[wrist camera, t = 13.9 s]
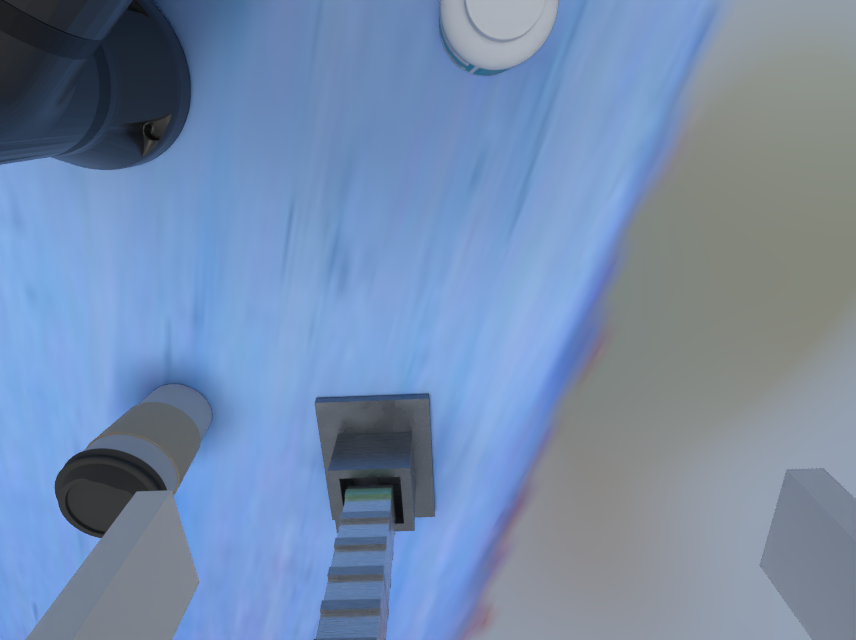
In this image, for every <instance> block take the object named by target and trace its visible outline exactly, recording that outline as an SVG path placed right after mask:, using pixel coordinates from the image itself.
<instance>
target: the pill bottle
mask: <svg viewBox="0 0 856 640" xmlns="http://www.w3.org/2000/svg"><path fill="white" fill-rule="evenodd" d="M558 3H559V0H440V17H439V28H440V36H441V41H442V44H443V47H444V49H445V51H446V53H447V55H448V56H449V58H450V59H451V60H452V61H453V62H454V64H455V65H457V66H458V67H459V68H460V69H462V70H464V71H465V72H468V73H470V74H473V75H478V76H491V75H495V74H498V73H501V72H503V71H506V70H508V69H510V68H512V67H514V66H516V65H518V64H520V63H522V62H524V61H526V60H527V59H528V58H530V57H531V56H532V55H534V54H535V53H536V52H537V51H538V50H539V48H540V47H541V46H542V45H543V44H544V42H545V41H546V39H547V37H548V36H549V34H550V32H551V30H552V28H553V25H554V22H555V19H556V16H557V11H558Z"/></svg>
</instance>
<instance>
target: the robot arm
mask: <svg viewBox="0 0 856 640" xmlns="http://www.w3.org/2000/svg"><path fill="white" fill-rule="evenodd" d="M189 102H190V80H189V72H188V67H187V63H186V59H185V56H184V53H183V50H182V47H181V45H180V43H179V40H178V38H177V36H176V34H175V32H174V30H173V29H172V27H171V25H170V24H169V22H168V21H167V19H166V18H165V16H164V15H163V14H162V13H161V11H160V10H159V9H158V8H157V6H156V5H155V4H154V3H153V2H152V1H151V0H0V165H2V164H8V163H14V162H21V161H27V160H34V159H40V158H47V157H51V158H55V159H58V160H61V161H64V162H67V163H70V164H73V165H77V166H80V167H85V168H90V169H98V170H115V169H122V168H127V167H132V166H136V165H140V164H143V163H146V162H148V161H151V160H153V159H154V158H156V157H158V156H159V155H161V154H162V153H163V152H164V151H166V150H167V149H168V148H169V147H170V146H171V145H172V143H173V142H174V141H175V140H176V138H177V137H178V135H179V133H180V132H181V130H182V127H183V125H184V123H185V120H186V117H187V113H188V108H189ZM760 567H761V568H762V569H763V571H764V572H765V574H766V575H767V577H768V578H769V579H770V581H771V582H772V583H773V585H774V586H775V588H776V589H777V590H778V592H779V593H780V595H781V596H782V598H783V599H784V601H785V602H786V603H787V605H788V606H789V607H790V609H791V610H792V612H793V613H794V615H795V616H796V617H797V619H798V620H799V622H800V623H801V624H802V626H803V627H804V629H805V630H806V632H807V633H808V634H809V636H810V637H811V639H812V640H856V498H855V497H853V496H852V495H851V494H850V493H849V492H848V491H847V490H846V489H845V488H844V487H843V486H842V485H841V484H840V483H839V482H837V481H836V480H835V479H834V478H833V477H832V476H831V475H830V474H829V473H828V472H827V471H826V470H825V469H823V468H819V469H791V470H786V473H785V477H784V481H783V484H782V488H781V491H780V495H779V498H778V502H777V505H776V509H775V513H774V516H773V519H772V523H771V527H770V530H769V534H768V537H767V541H766V544H765V548H764V551H763V555H762V558H761V562H760ZM198 584H199V579H198V576H197V572H196V569H195V566H194V562H193V559H192V556H191V553H190V549H189V546H188V543H187V539H186V536H185V533H184V530H183V526H182V523H181V520H180V516H179V513H178V510H177V507H176V503H175V500H174V497H173V493H172V490H167V491H137V492H136V493H135V494H134V496H133V497H132V498H131V500H130V501H129V502H128V504H127V505H126V506H125V508H124V509H123V510H122V512H121V513H120V514H119V516H118V517H117V518H116V520H115V521H114V522H113V524H112V525H111V526H110V528H109V529H108V530H107V532H106V533H105V534H104V536H103V537H102V538H101V540H100V541H99V542H98V544H97V545H96V546H95V548H94V549H93V550H92V552H91V553H90V554H89V556H88V557H87V558H86V560H85V561H84V562H83V564H82V565H81V566H80V568H79V569H78V570H77V572H76V573H75V574H74V576H73V577H72V578H71V580H70V581H69V582H68V584H67V585H66V586H65V588H64V589H63V590H62V592H61V593H60V594H59V596H58V597H57V598H56V600H55V601H54V602H53V604H52V605H51V607H50V608H49V609H48V611H47V612H46V613H45V615H44V616H43V617H42V619H41V620H40V621H39V623H38V624H37V625H36V627H35V628H34V629H33V631H32V632H31V633H30V635H29V636H28V637H27V639H26V640H172V639H173V636H174V634H175V632H176V630H177V628H178V626H179V624H180V622H181V620H182V618H183V616H184V613H185V611H186V609H187V607H188V605H189V603H190V601H191V599H192V597H193V595H194V592H195V590H196V588H197V586H198Z"/></svg>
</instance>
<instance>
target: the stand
mask: <svg viewBox="0 0 856 640" xmlns="http://www.w3.org/2000/svg"><path fill="white" fill-rule="evenodd" d="M315 409H316V415H317V422H318V428H319V435H320V442H321V448H322V455H323V461H324V468H325V474H326V481H327V487H328V494H329V500H330V507H331V513H332V520H335V522H336V529H337V533H338V530H339V526H340V515H341V512H343V507H344V502H345V492H346V489H347V488H348V486H366V485H393V495H394V506H395V517H396V521H395V531H414V529H415V517H435V505H434V486H433V466H432V447H431V427H430V408H429V394H410V395H384V396H357V397H330V398H316V401H315Z"/></svg>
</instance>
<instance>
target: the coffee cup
mask: <svg viewBox="0 0 856 640" xmlns="http://www.w3.org/2000/svg"><path fill="white" fill-rule="evenodd" d="M211 421H212V410H211V407H210V405H209V403H208V402H207V400H206V399H205V398H204V397H203V396H202V395H201V394H200V393H199V392H197V391H196V390H194V389H192V388H190V387H188V386H185V385H180V384H167V385H163V386H160V387H158V388H157V389H155V390H154V391H153V392H152V393H151V394H149V395H148V396H147V397H146V398H145V399H144V400H142V401H141V402H140V403H139V404H138V405H136V406H134V407H132V408H131V409H130V410H129V411H127V412H126V413H125V414H124V415H123V416H122V417H120V418H119V419H118V420H117V421H116V422H114V423H113V424H112V425H111V426H110V427H108V428H107V429H106V430H105V431H104V432H103V433H101V434H100V435H99V436H98V437H97V438H95V439H94V440H93V441H92V442H91V443H90V444H89V445H88V446H87V448H86V449H85V450H84V451H83V452H80V453H78V454H76V455H75V456H73V457H72V458H71V459H70V460H68V462H67V463H66V464H65V466H64V467H63V469H62V470H61V471H60V472H59V474H58V475H57V478H56V481H55V494H56V498H57V500H58V504H59V508H60V510H61V512H62V514H63V516H64V517H65V518H66V519H67V521H68V522H69V523H71V524H72V525H73V526H74V527H76V528H77V529H79V530H80V531H82V532H84V533H86V534H89V535H91V536H94V537H98V538H102V537H103V536H104V534H105V533H106V532H107V530H108V529H109V528H110V526H111V525H112V524H113V522H114V521H115V520H116V518H117V517H118V516H119V514H120V513H121V512H122V510H123V509H124V508H125V506H126V505H127V504H128V502H129V501H130V500H131V498H132V497H133V496H134V494H135V493H136V492H137V491H167V490H172V493H173V496H174V494H175V493H176V491H177V489H178V487H179V486H180V484H181V482H182V480H183V478H184V476H185V474H186V472H187V470H188V469H189V467H190V465H191V463H192V461H193V459H194V457H195V455H196V453H197V452H198V450H199V447H200V442H201V441H202V439H203V437H204V435H205V433H206V431H207V429H208V427H209V426H210V424H211Z"/></svg>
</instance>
